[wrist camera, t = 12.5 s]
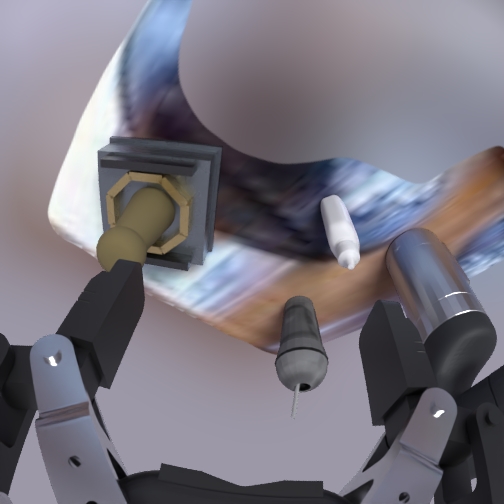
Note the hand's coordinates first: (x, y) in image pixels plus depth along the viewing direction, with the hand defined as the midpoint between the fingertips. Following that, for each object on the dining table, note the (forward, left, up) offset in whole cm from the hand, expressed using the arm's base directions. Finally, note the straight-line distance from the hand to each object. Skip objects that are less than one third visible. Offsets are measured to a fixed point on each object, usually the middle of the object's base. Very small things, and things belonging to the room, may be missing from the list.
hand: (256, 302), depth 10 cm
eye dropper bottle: (-10, +10, -30) cm, 33 cm away
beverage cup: (-9, +27, -30) cm, 42 cm away
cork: (+13, +11, -25) cm, 30 cm away
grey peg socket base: (+13, +11, -30) cm, 35 cm away
